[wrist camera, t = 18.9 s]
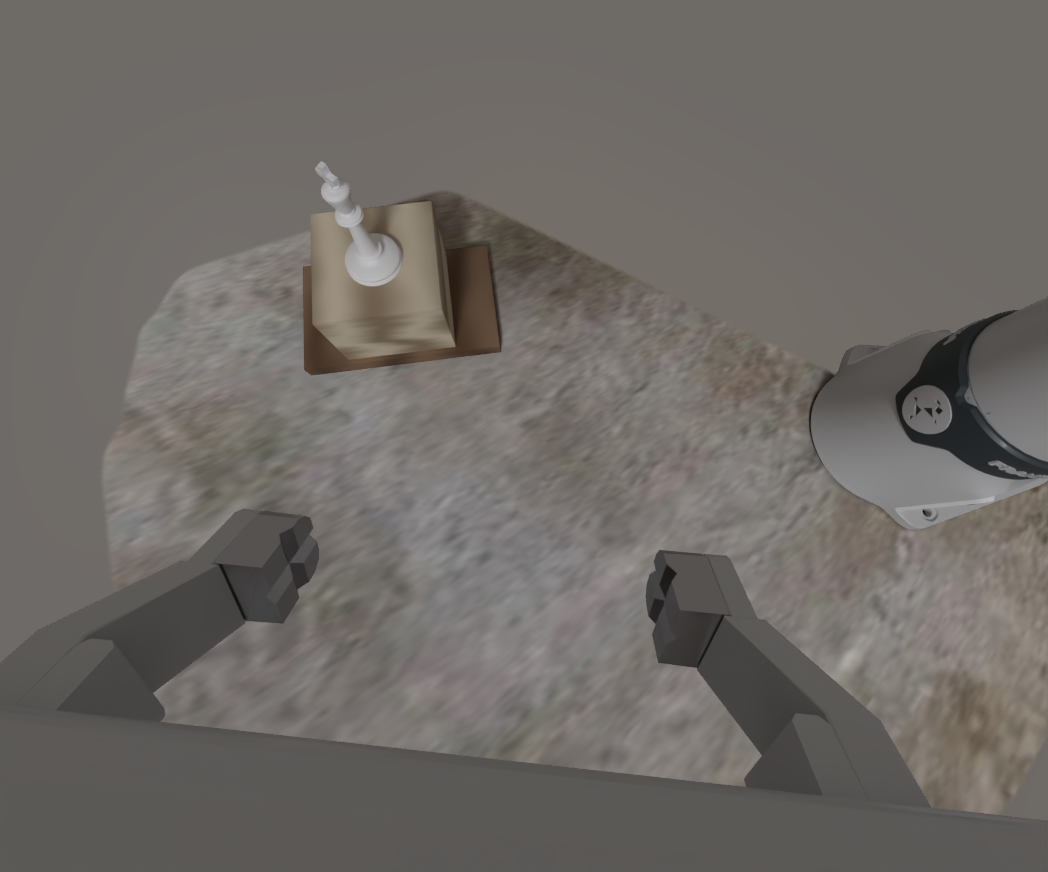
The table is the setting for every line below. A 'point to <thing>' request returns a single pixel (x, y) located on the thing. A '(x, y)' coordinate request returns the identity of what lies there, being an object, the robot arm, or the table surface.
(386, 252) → the chess piece
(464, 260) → the walnut base
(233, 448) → the table surface
